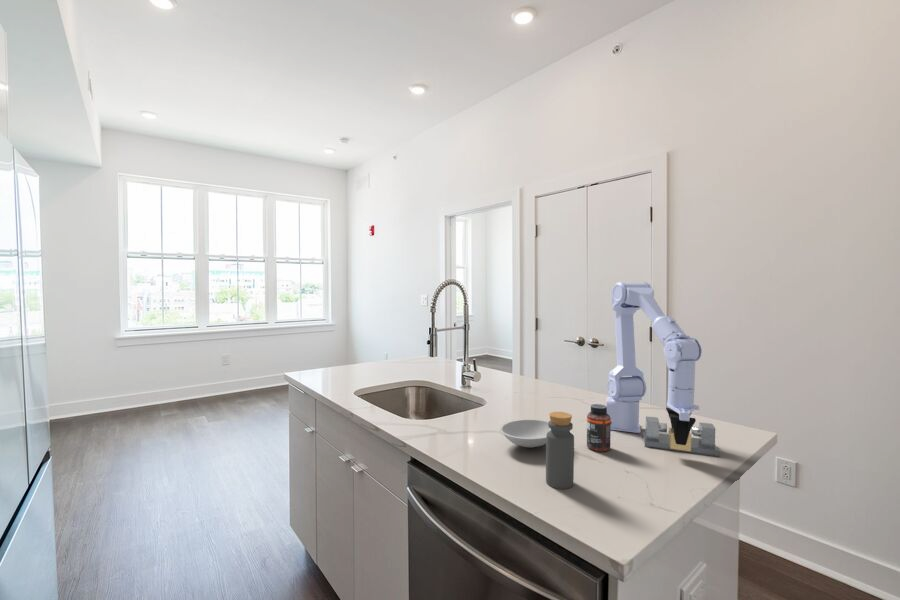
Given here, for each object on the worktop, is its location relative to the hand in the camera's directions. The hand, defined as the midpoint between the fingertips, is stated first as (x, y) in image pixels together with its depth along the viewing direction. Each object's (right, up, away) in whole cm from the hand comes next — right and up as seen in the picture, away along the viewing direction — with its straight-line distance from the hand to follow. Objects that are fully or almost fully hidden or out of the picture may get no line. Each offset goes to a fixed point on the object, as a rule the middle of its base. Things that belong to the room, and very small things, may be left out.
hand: (679, 440), depth 104 cm
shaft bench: (+4, -4, +9) cm, 10 cm away
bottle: (-33, -5, -13) cm, 36 cm away
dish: (-36, -4, +7) cm, 37 cm away
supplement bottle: (-18, -4, +7) cm, 20 cm away
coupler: (0, -2, 0) cm, 2 cm away
